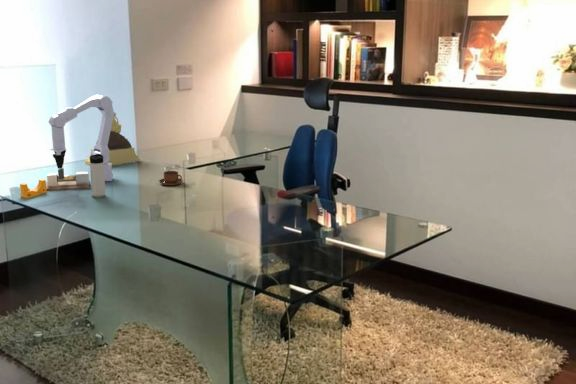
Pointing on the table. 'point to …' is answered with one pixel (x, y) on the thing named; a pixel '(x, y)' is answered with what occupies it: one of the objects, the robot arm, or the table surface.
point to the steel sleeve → (82, 178)
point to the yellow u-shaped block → (35, 192)
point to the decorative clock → (118, 146)
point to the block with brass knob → (64, 178)
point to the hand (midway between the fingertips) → (60, 166)
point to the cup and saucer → (171, 178)
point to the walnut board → (66, 186)
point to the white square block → (52, 179)
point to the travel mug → (97, 176)
